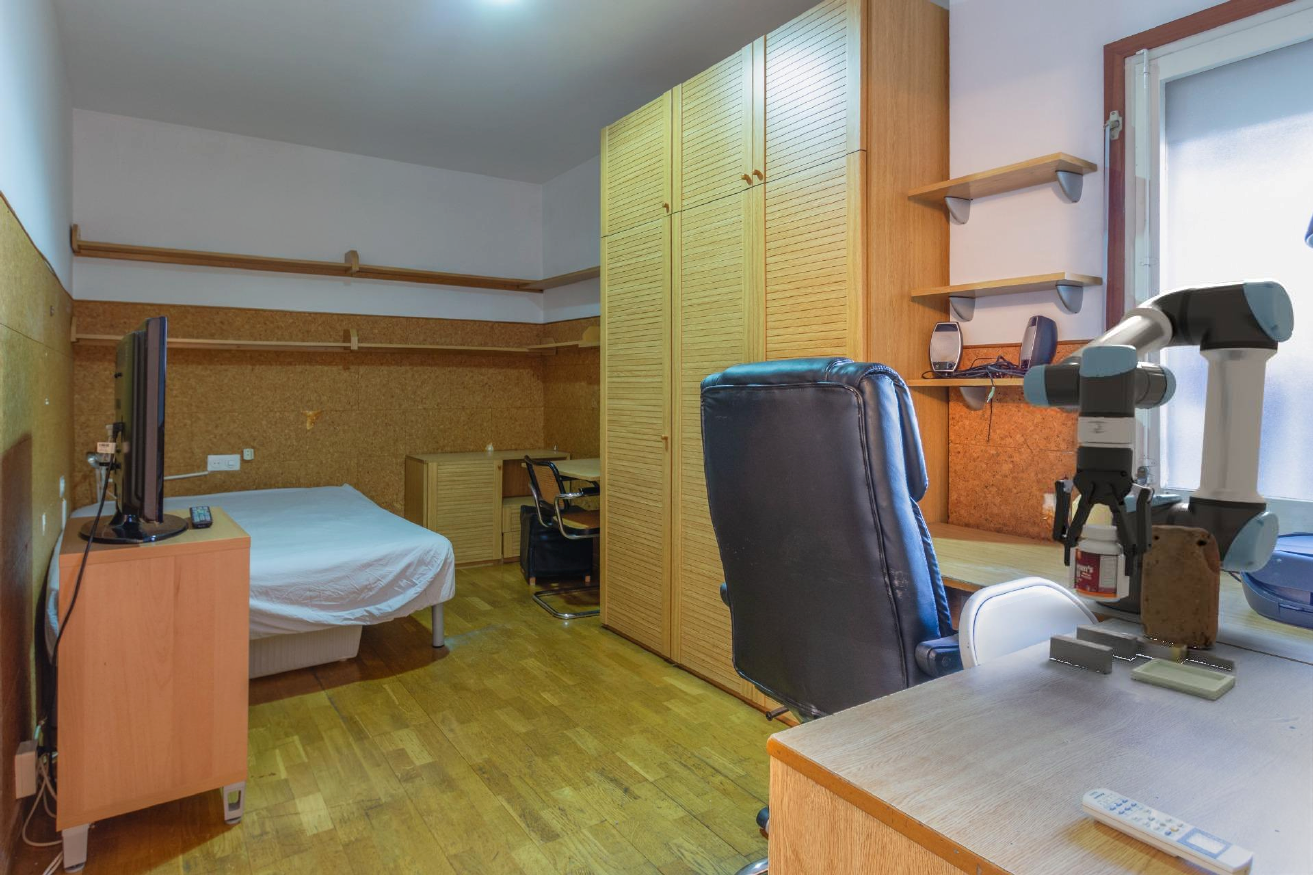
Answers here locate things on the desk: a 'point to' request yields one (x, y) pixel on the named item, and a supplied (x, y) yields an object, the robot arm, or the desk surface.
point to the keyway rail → (1210, 659)
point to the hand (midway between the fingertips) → (1098, 591)
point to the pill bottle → (1098, 563)
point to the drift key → (1161, 649)
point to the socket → (1093, 648)
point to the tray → (1184, 678)
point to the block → (1181, 586)
